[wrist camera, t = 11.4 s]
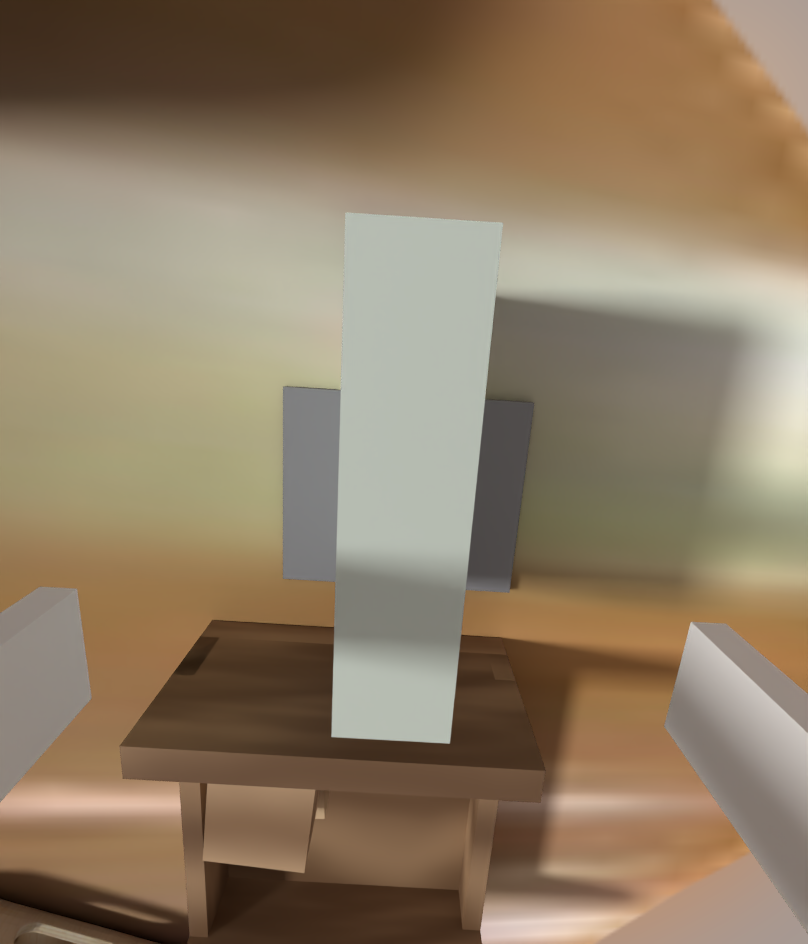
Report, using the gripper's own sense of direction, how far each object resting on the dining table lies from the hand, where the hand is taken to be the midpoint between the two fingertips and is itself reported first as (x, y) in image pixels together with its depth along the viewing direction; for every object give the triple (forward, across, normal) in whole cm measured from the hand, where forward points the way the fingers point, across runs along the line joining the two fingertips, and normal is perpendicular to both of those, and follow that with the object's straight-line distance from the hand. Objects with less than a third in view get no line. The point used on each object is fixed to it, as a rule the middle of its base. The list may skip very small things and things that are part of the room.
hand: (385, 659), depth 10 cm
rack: (+14, -2, -18) cm, 22 cm away
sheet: (+14, 0, +2) cm, 14 cm away
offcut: (+9, -5, -13) cm, 17 cm away
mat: (+14, 0, -1) cm, 14 cm away
